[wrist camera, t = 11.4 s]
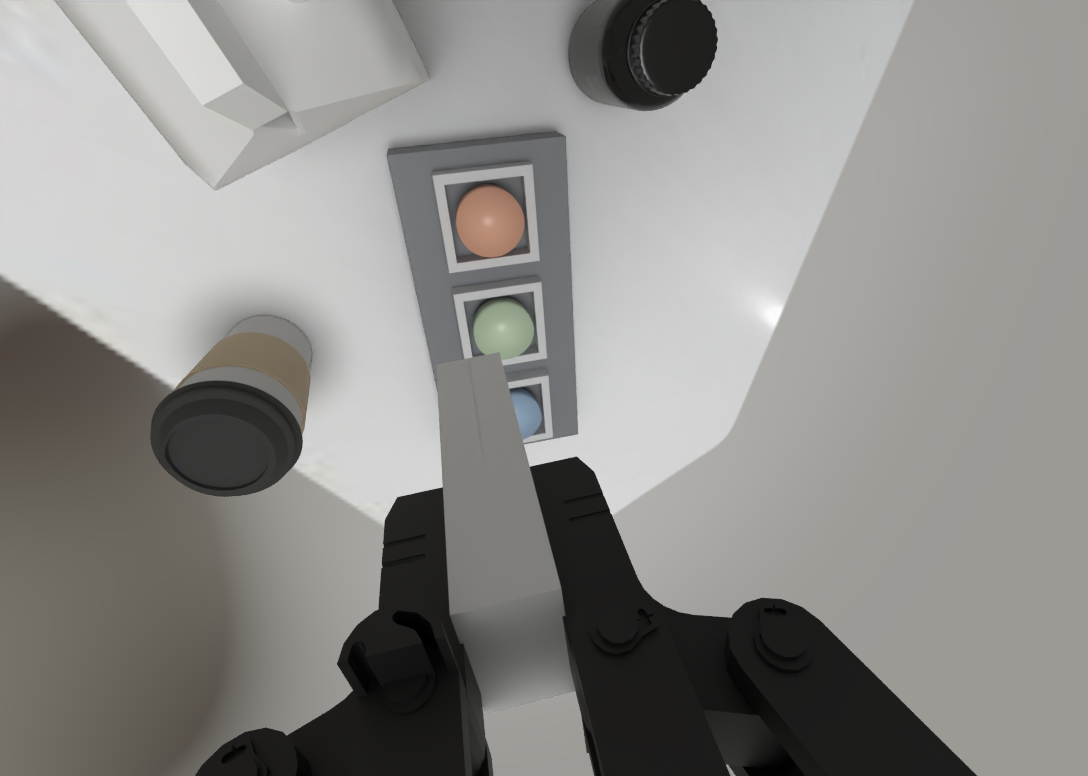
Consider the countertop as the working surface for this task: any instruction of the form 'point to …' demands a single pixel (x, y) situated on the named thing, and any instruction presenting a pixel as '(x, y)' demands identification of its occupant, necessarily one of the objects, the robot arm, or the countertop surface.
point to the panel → (495, 259)
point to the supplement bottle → (642, 51)
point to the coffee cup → (238, 411)
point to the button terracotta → (489, 220)
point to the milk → (250, 71)
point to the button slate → (526, 411)
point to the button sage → (503, 328)
